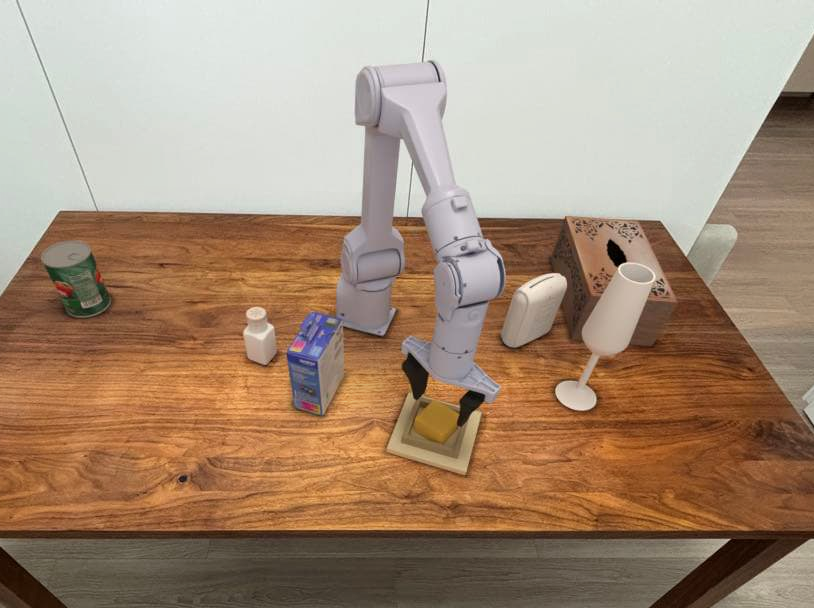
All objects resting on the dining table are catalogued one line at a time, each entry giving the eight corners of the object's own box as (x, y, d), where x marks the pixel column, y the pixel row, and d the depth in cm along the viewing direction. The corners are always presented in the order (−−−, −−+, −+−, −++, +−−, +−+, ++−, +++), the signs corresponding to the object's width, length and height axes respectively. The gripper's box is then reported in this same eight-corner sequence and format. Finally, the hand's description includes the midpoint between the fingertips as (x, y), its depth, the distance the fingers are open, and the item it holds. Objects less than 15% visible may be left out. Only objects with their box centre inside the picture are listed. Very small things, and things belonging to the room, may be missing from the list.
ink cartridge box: (314, 366, 91) (311, 297, 80) (345, 374, 90) (345, 305, 79) (290, 407, 85) (283, 339, 74) (323, 417, 84) (320, 348, 73)
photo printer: (536, 319, 101) (556, 263, 92) (553, 332, 99) (575, 275, 89) (496, 338, 97) (512, 281, 88) (512, 352, 95) (531, 295, 85)
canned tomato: (56, 311, 98) (29, 259, 90) (86, 287, 103) (63, 236, 94) (91, 322, 96) (67, 271, 88) (120, 297, 101) (100, 246, 93)
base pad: (386, 452, 80) (387, 442, 78) (408, 395, 87) (409, 385, 85) (465, 475, 77) (468, 465, 75) (480, 415, 85) (484, 405, 83)
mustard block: (412, 430, 81) (414, 417, 79) (431, 411, 84) (434, 398, 81) (440, 447, 79) (443, 435, 77) (458, 428, 82) (461, 415, 79)
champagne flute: (574, 416, 85) (637, 294, 67) (546, 388, 89) (599, 265, 71) (605, 402, 88) (674, 280, 69) (577, 375, 91) (635, 253, 73)
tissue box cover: (651, 346, 97) (677, 302, 89) (571, 340, 97) (590, 295, 90) (618, 263, 114) (638, 221, 106) (550, 258, 114) (565, 215, 107)
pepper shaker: (278, 352, 93) (273, 309, 85) (266, 367, 90) (260, 324, 83) (259, 345, 94) (252, 302, 86) (246, 359, 91) (238, 316, 84)
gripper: (522, 348, 67) (497, 418, 77) (426, 299, 72) (416, 370, 83) (493, 379, 63) (471, 447, 73) (395, 325, 69) (388, 395, 79)
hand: (440, 408), depth 78 cm, fingers open, 7 cm apart
